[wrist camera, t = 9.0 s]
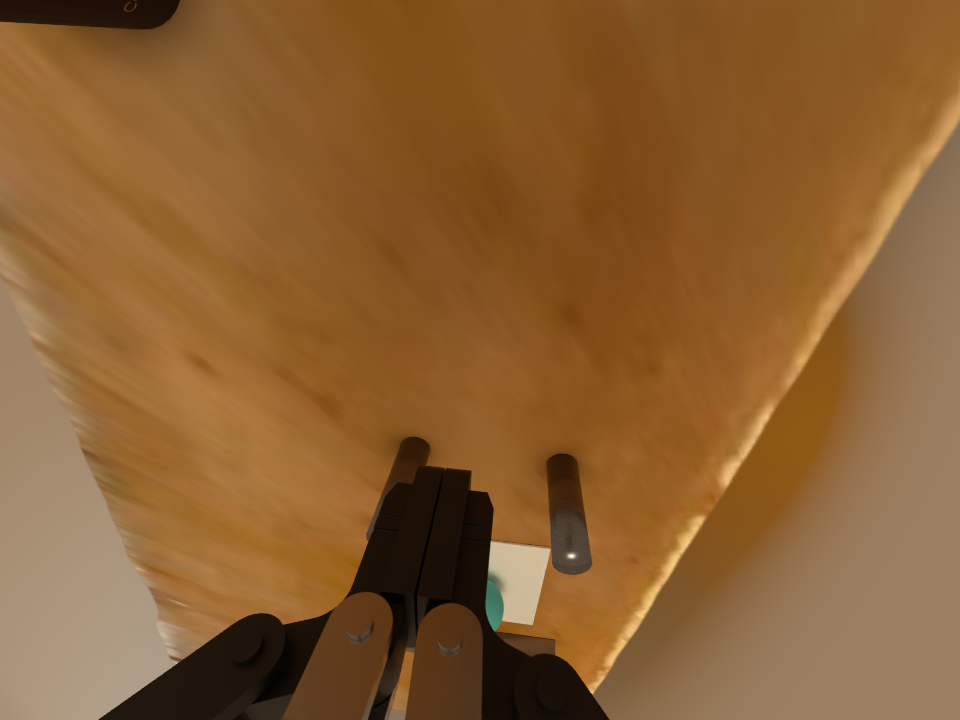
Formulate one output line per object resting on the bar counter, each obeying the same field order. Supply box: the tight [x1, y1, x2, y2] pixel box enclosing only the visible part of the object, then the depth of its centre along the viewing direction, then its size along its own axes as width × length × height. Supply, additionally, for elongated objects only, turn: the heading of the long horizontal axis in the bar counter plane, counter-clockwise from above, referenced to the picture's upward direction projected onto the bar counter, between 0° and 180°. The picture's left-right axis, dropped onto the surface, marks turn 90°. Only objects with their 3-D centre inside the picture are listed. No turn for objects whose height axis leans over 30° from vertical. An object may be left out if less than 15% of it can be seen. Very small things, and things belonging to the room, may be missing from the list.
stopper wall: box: [405, 632, 555, 657], centre depth 49 cm, size 2×20×2 cm, turn 86°
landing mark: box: [488, 540, 550, 625], centre depth 45 cm, size 14×14×1 cm
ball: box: [486, 579, 504, 631], centre depth 42 cm, size 6×6×6 cm
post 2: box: [547, 454, 592, 575], centre depth 31 cm, size 3×3×9 cm
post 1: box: [366, 437, 430, 542], centre depth 32 cm, size 3×3×9 cm
